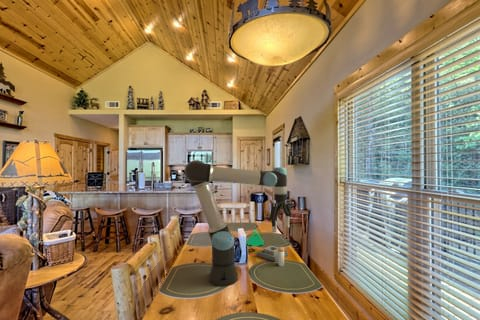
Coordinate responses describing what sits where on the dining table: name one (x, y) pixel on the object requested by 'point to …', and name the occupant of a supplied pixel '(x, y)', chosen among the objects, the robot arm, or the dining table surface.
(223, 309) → the dining table surface
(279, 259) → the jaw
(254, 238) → the green triangular block
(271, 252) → the housing
